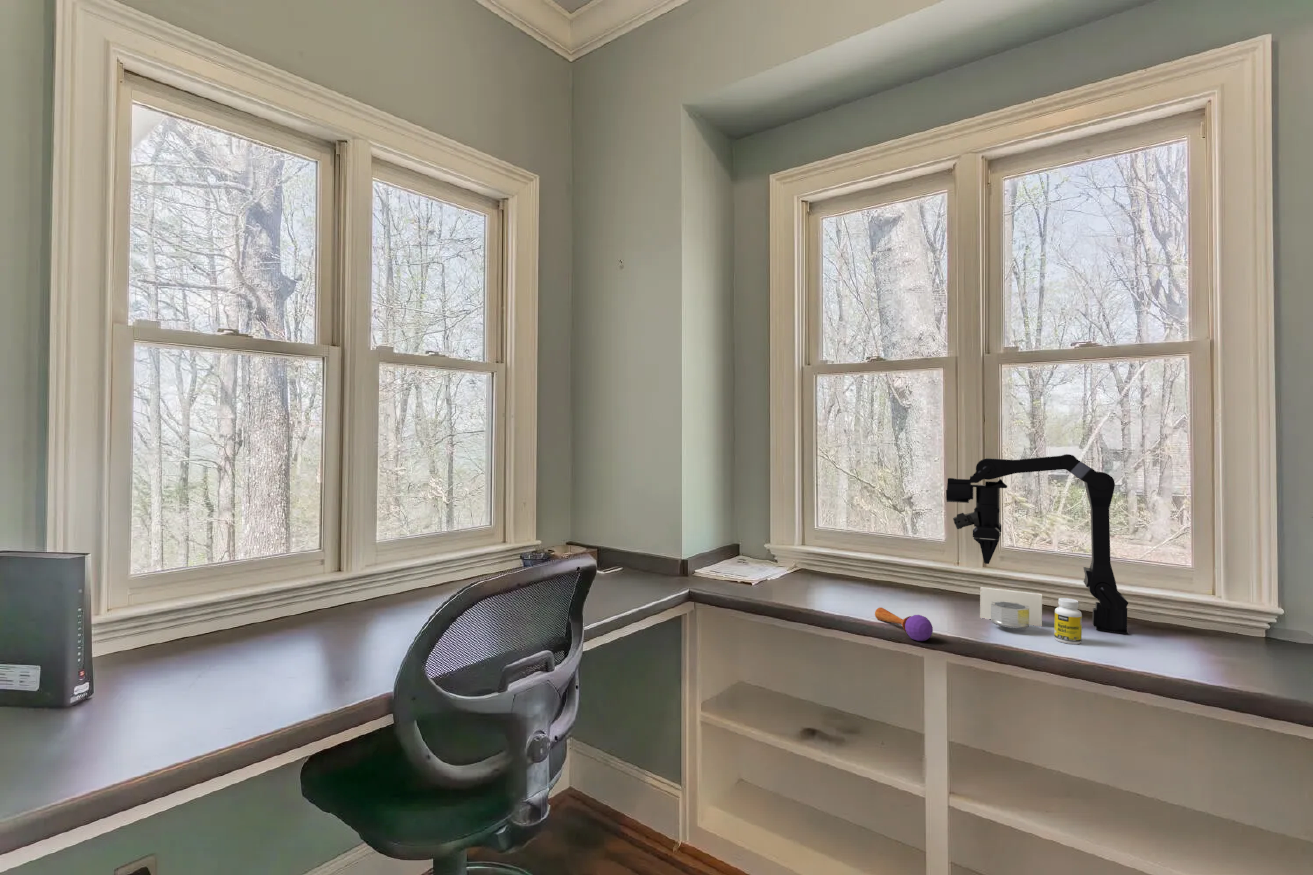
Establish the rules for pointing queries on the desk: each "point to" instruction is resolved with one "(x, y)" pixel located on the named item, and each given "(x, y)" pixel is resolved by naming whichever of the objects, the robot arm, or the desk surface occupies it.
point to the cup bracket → (1010, 614)
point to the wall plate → (1011, 596)
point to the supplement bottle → (1068, 622)
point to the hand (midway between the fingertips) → (987, 560)
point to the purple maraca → (908, 624)
